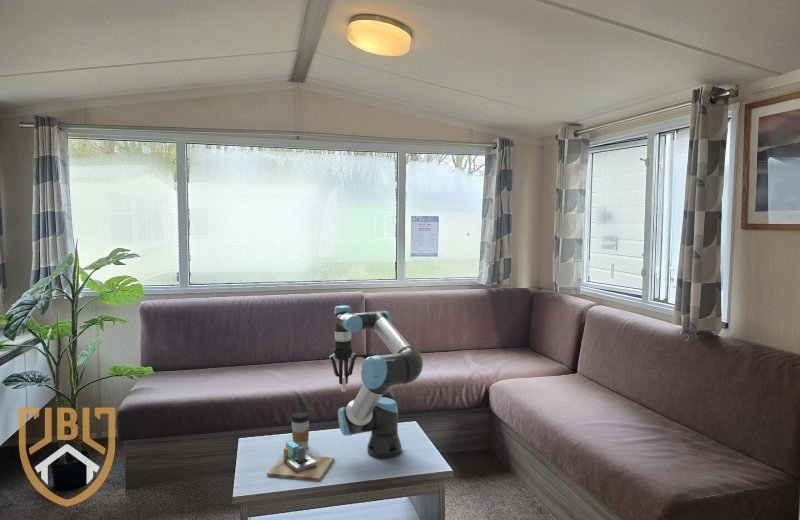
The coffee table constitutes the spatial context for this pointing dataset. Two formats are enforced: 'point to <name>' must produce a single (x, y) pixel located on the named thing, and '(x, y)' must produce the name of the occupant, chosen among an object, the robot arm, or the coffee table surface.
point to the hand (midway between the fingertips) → (343, 390)
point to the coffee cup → (300, 428)
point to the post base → (307, 474)
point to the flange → (294, 458)
